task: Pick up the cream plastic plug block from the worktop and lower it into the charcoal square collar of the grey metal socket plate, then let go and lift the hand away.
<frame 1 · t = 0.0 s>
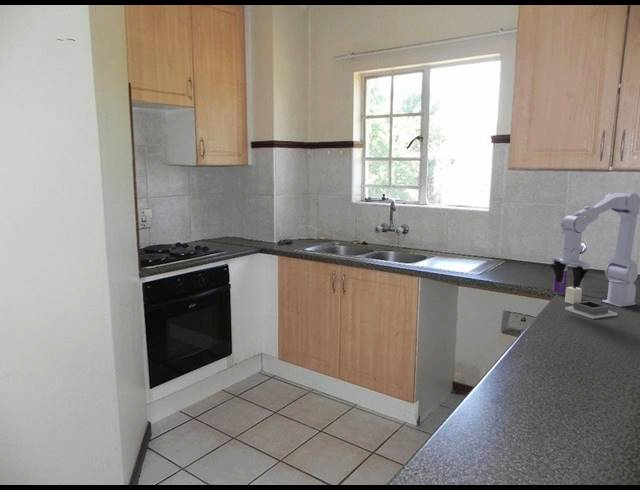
hand: (567, 284, 175), 10 cm above the worktop, tool pointing down, fingers open, 7 cm apart
socket plate: (590, 312, 175), on the worktop
plug: (572, 302, 188), on the worktop
container: (558, 293, 202), on the worktop
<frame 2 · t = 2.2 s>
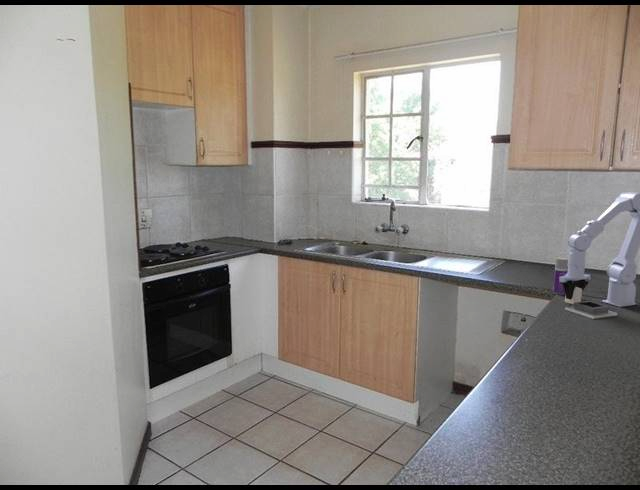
hand: (573, 298, 187), 2 cm above the worktop, tool pointing down, fingers closed on plug, 4 cm apart
plug: (572, 302, 188), on the worktop, touching gripper
everything else where it was.
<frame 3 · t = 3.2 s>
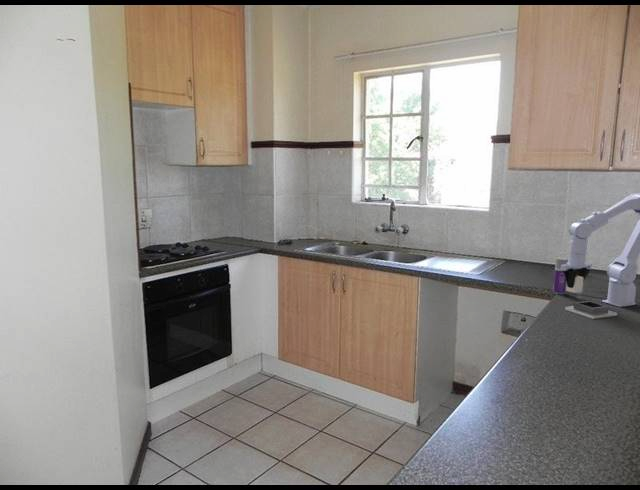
hand: (574, 286, 187), 6 cm above the worktop, tool pointing down, fingers closed on plug, 4 cm apart
plug: (573, 291, 187), point 5 cm above the worktop, touching gripper
everything else where it was.
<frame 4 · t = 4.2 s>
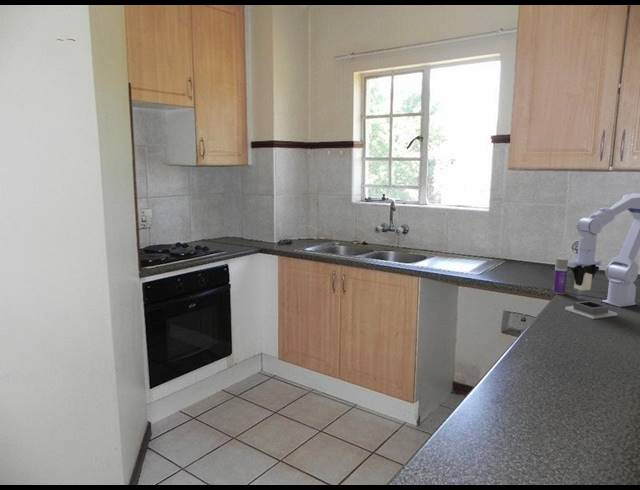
hand: (582, 284, 180), 9 cm above the worktop, tool pointing down, fingers closed on plug, 4 cm apart
plug: (582, 288, 181), point 7 cm above the worktop, touching gripper
everything else where it was.
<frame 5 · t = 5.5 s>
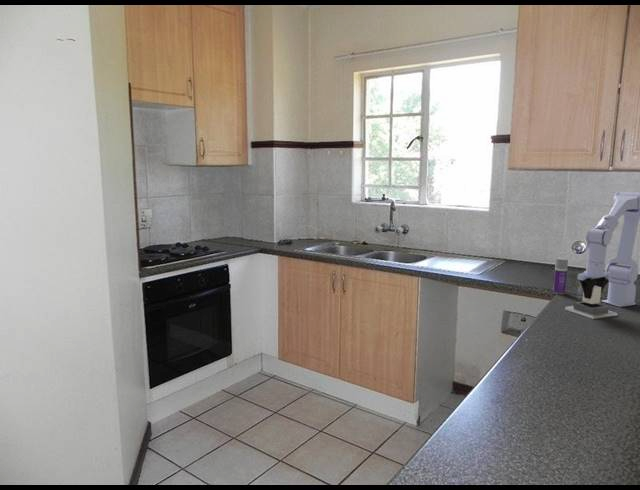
hand: (591, 297, 174), 6 cm above the worktop, tool pointing down, fingers closed on plug, 4 cm apart
plug: (590, 302, 174), point 4 cm above the worktop, touching gripper
everything else where it was.
when the fingers open (4 cm above the worktop, at t = 6.3 s): plug drops 1 cm, resting on socket plate.
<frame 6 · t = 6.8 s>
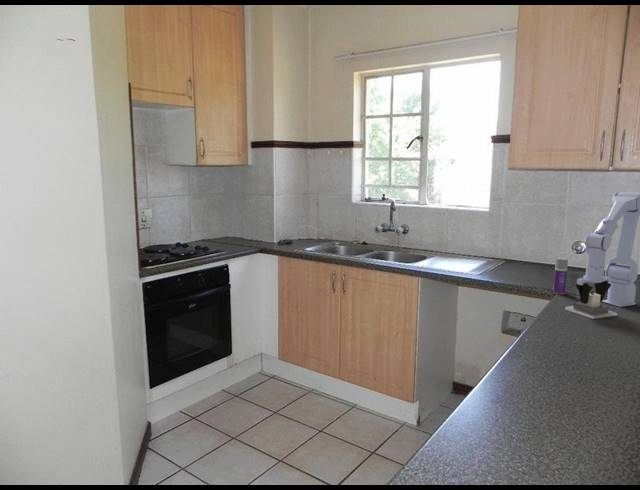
hand: (591, 302, 174), 4 cm above the worktop, tool pointing down, fingers open, 7 cm apart
plug: (590, 309, 175), point 1 cm above the worktop, touching socket plate
everything else where it was.
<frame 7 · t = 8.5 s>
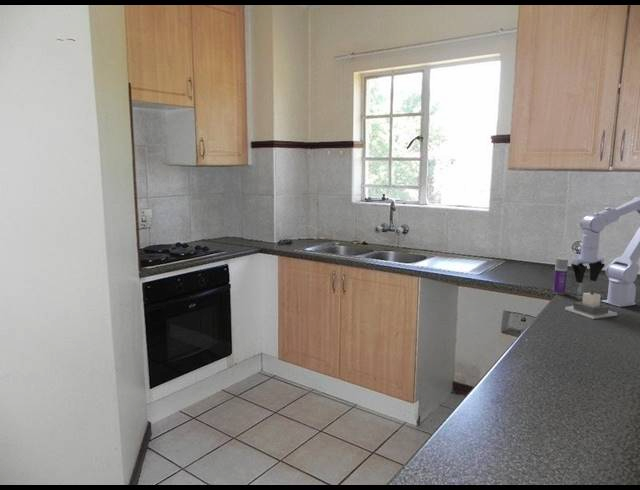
hand: (586, 281, 183), 9 cm above the worktop, tool pointing down, fingers open, 7 cm apart
nothing on the worktop moved.
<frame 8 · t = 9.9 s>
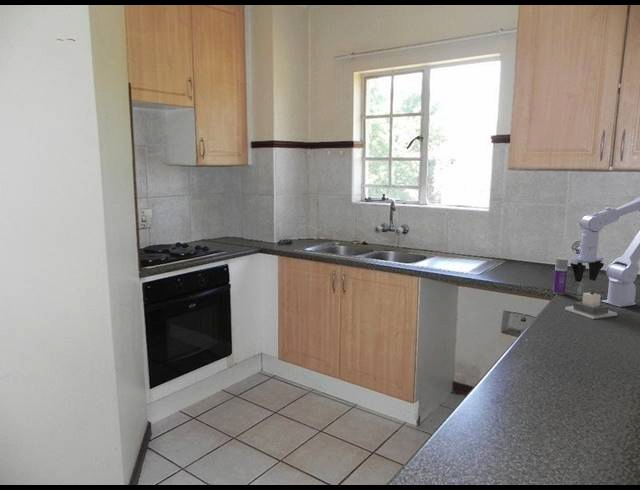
hand: (585, 280, 184), 9 cm above the worktop, tool pointing down, fingers open, 7 cm apart
nothing on the worktop moved.
at the end: plug 0.2 cm off-centre on the socket plate, point 1.0 cm above the socket plate's base; plug tilted 0°; the gripper is holding nothing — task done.
